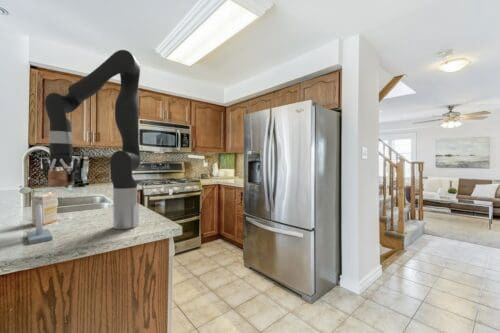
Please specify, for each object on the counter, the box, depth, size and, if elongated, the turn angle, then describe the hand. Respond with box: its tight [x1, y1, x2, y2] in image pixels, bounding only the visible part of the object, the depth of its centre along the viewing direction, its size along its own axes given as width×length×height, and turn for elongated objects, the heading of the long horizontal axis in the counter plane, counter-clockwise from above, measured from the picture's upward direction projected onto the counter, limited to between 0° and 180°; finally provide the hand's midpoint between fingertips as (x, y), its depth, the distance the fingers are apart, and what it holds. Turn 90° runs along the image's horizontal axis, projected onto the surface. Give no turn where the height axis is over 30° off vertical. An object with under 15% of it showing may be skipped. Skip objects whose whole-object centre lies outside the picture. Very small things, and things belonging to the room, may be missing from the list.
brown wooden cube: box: [47, 170, 75, 187], centre depth 96 cm, size 6×6×6 cm
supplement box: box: [31, 192, 58, 227], centre depth 104 cm, size 8×5×13 cm, turn 5°
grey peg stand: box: [26, 205, 53, 245], centre depth 84 cm, size 12×6×12 cm, turn 47°
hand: (61, 182), depth 96 cm, fingers closed on brown wooden cube, 6 cm apart
